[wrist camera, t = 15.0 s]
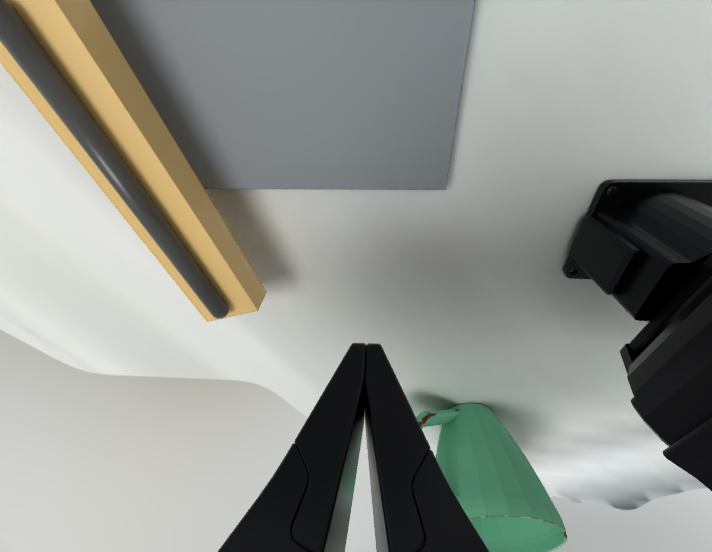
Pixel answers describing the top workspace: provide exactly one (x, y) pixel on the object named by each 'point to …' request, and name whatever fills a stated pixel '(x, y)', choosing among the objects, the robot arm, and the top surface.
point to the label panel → (302, 87)
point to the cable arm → (125, 147)
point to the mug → (494, 481)
